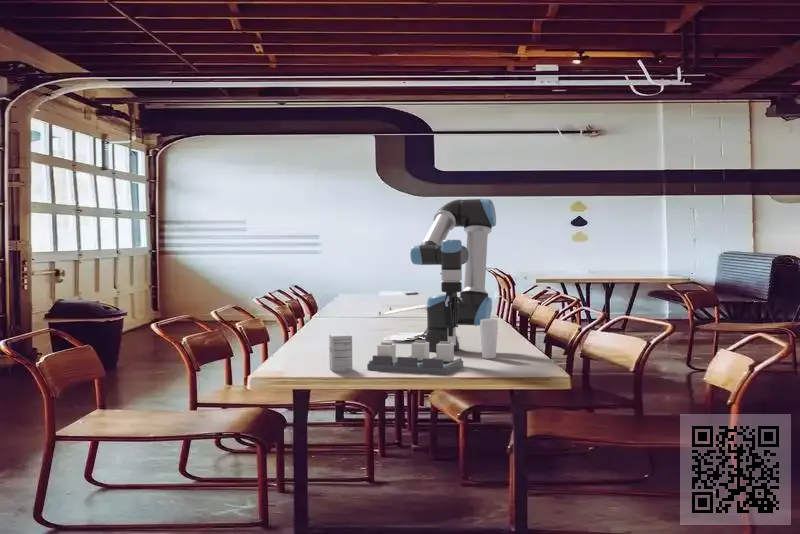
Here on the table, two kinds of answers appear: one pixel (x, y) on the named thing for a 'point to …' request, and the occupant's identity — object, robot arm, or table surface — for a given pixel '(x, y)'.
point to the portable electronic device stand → (407, 310)
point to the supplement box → (340, 352)
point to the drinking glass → (489, 337)
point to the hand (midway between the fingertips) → (451, 344)
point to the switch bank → (414, 365)
